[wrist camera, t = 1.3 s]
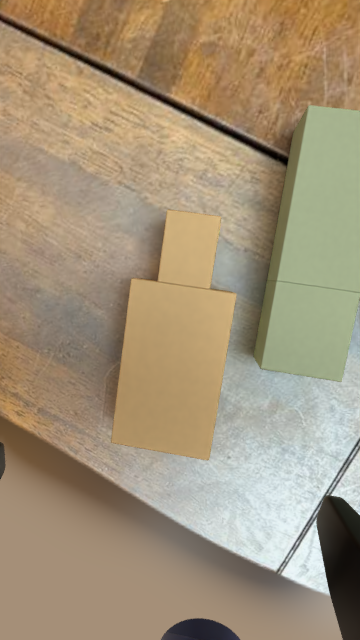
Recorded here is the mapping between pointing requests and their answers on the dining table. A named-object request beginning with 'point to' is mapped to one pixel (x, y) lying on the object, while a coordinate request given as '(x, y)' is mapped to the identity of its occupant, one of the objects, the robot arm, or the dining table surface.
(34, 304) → the dining table surface
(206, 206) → the dining table surface
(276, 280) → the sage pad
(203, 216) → the sand pad
